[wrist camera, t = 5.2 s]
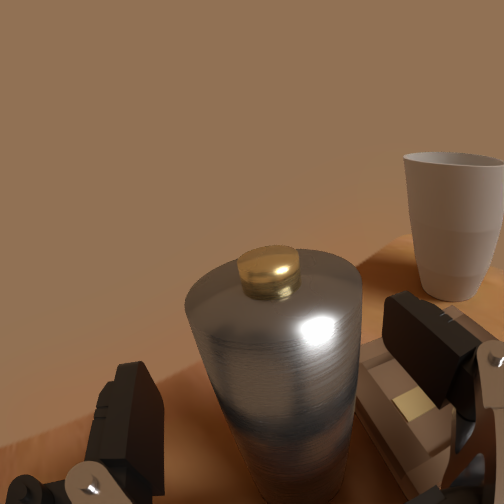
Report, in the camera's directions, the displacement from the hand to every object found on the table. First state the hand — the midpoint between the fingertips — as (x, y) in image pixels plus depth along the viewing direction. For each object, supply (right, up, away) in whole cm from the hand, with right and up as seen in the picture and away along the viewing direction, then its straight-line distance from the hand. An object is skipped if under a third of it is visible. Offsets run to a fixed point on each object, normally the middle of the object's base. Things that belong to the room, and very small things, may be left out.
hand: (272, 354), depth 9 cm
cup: (+15, 0, +11) cm, 19 cm away
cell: (+1, -6, +1) cm, 6 cm away
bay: (+9, -4, +2) cm, 10 cm away
